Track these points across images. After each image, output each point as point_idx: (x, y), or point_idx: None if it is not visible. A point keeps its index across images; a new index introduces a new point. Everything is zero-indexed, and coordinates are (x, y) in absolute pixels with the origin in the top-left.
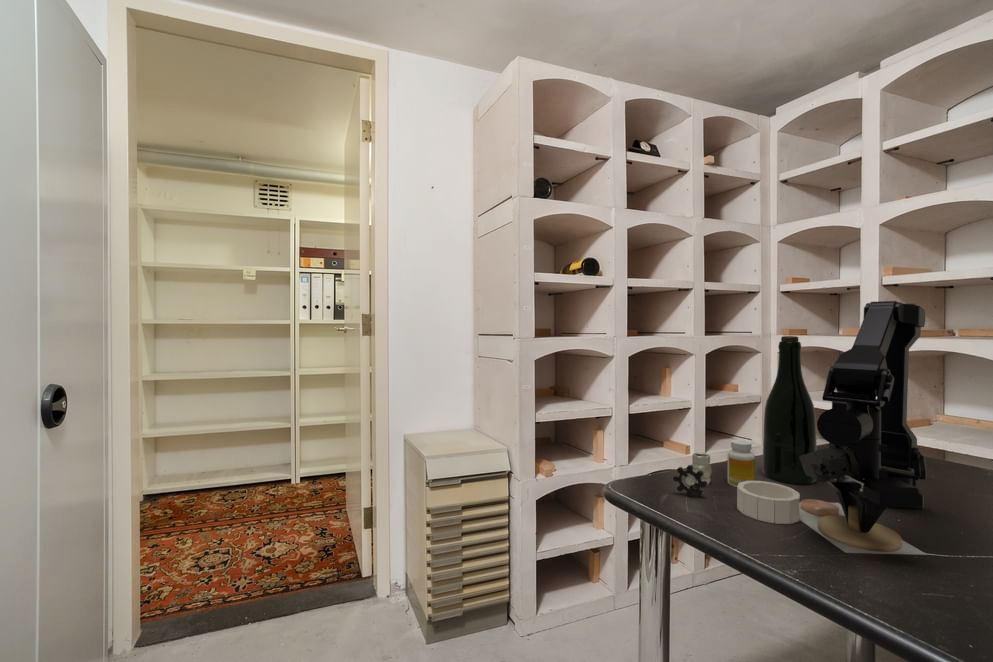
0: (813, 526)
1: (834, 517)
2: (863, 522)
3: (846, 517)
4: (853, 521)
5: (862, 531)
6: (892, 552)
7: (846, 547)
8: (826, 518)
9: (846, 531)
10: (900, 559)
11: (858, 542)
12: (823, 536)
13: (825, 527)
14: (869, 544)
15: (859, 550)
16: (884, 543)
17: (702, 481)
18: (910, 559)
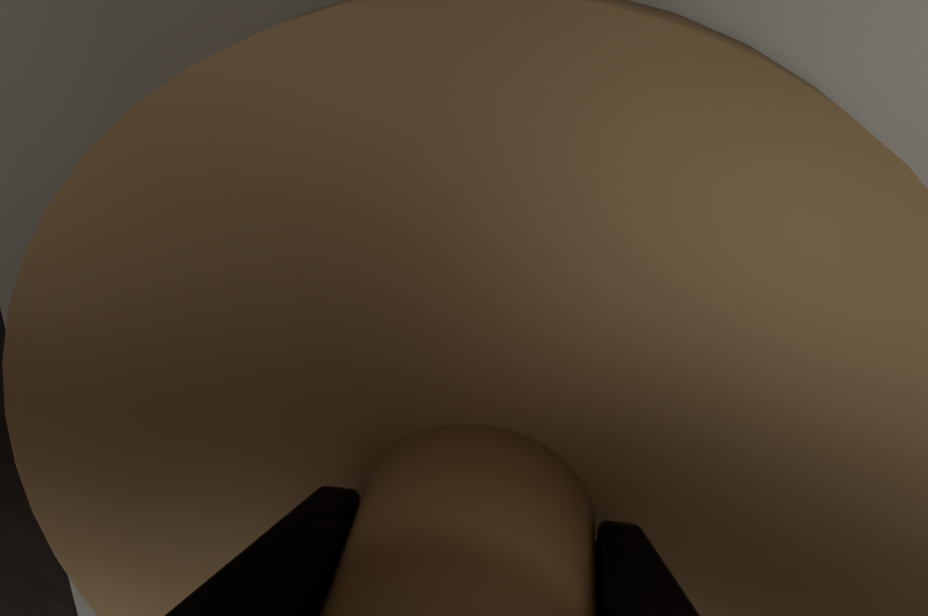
0: (862, 27)
1: (922, 515)
2: (197, 597)
3: (645, 578)
4: (388, 534)
5: (321, 494)
6: None
7: (80, 32)
8: (924, 370)
9: (402, 321)
10: (7, 464)
11: (43, 222)
12: None
13: (566, 72)
14: (9, 323)
15: (21, 154)
16: (81, 508)
17: None
18: (33, 542)
